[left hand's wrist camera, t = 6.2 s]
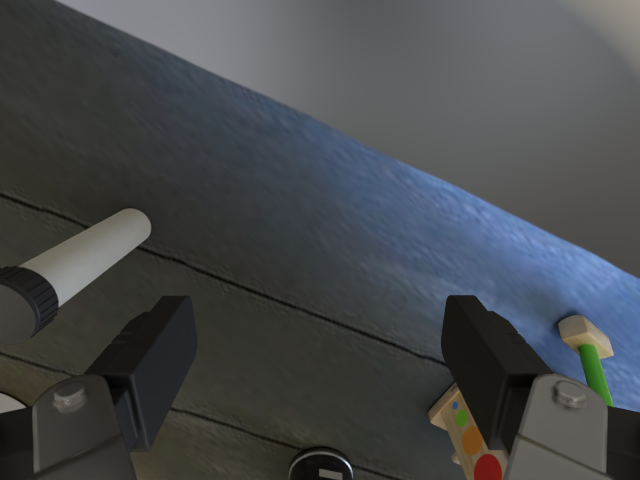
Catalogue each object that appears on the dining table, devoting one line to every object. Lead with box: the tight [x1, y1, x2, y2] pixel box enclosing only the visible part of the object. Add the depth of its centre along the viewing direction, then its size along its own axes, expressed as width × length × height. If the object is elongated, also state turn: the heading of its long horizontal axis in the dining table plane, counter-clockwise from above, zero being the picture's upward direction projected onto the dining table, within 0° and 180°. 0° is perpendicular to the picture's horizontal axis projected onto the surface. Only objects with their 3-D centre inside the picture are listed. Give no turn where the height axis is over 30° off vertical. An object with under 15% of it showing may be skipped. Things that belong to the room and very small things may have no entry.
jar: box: [18, 208, 151, 308], centre depth 33 cm, size 4×4×18 cm
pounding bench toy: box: [428, 315, 614, 480], centre depth 40 cm, size 23×14×18 cm, turn 149°
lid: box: [0, 266, 59, 345], centre depth 25 cm, size 5×5×2 cm
